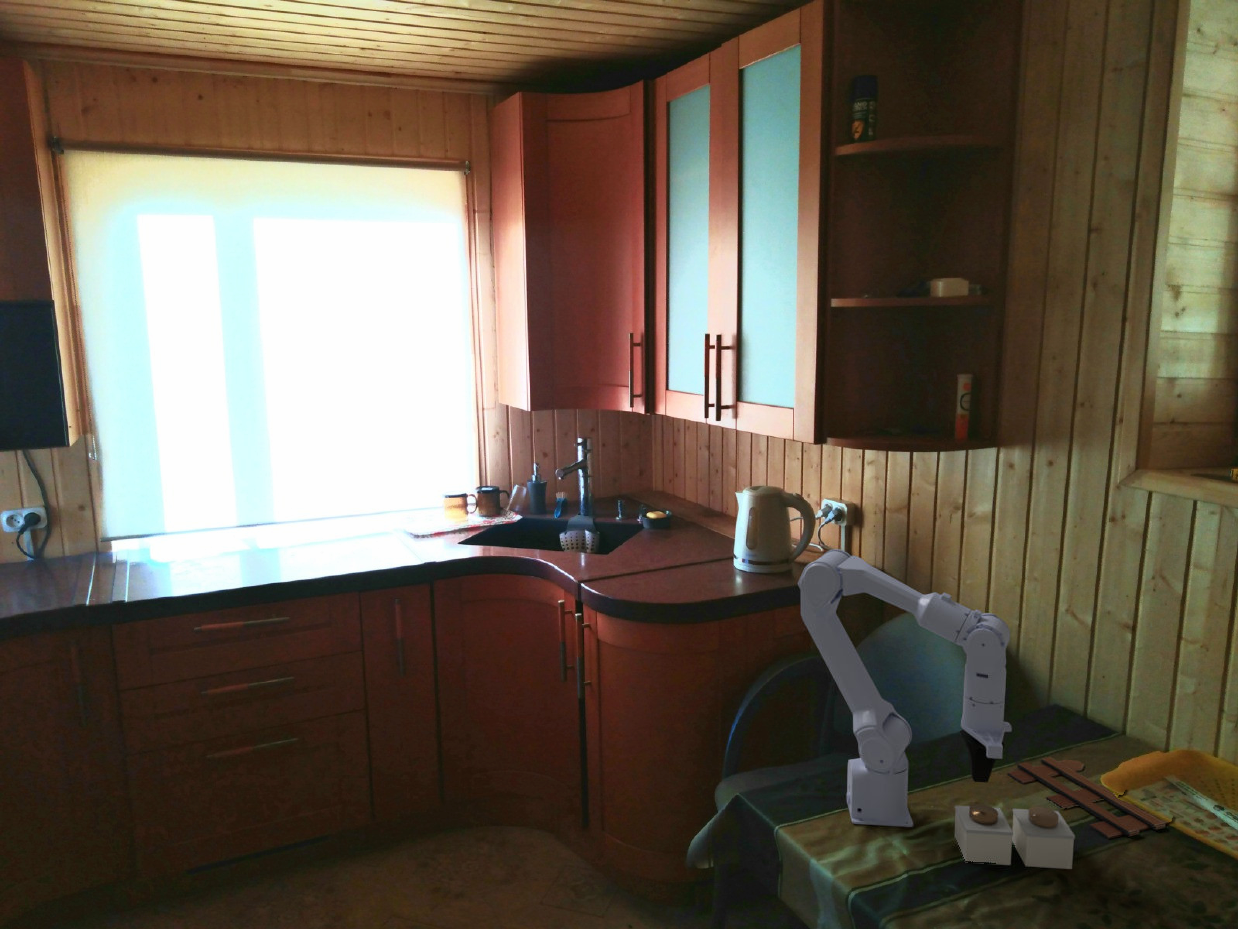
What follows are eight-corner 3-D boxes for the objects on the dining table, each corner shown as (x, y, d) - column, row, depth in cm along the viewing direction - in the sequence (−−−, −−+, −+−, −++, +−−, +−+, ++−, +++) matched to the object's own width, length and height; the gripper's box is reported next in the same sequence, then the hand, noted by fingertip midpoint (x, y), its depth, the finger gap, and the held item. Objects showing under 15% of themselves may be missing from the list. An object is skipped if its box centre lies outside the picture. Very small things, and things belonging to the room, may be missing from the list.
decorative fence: (1113, 847, 130) (1185, 828, 135) (1113, 836, 130) (1186, 818, 135) (1002, 775, 152) (1068, 761, 157) (1002, 766, 152) (1068, 752, 156)
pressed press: (1025, 866, 125) (1027, 825, 124) (1008, 836, 133) (1010, 797, 132) (1072, 869, 124) (1075, 827, 123) (1053, 839, 132) (1056, 799, 131)
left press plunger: (971, 853, 127) (973, 817, 126) (964, 838, 131) (966, 803, 130) (999, 855, 127) (1001, 819, 126) (991, 839, 131) (993, 804, 130)
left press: (964, 862, 126) (966, 829, 125) (951, 833, 134) (953, 801, 133) (1011, 865, 125) (1013, 832, 125) (996, 835, 133) (997, 804, 132)
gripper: (1027, 718, 121) (1021, 807, 123) (998, 678, 135) (994, 758, 137) (974, 716, 122) (970, 804, 124) (952, 676, 136) (948, 755, 138)
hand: (979, 780), depth 131 cm, fingers closed
